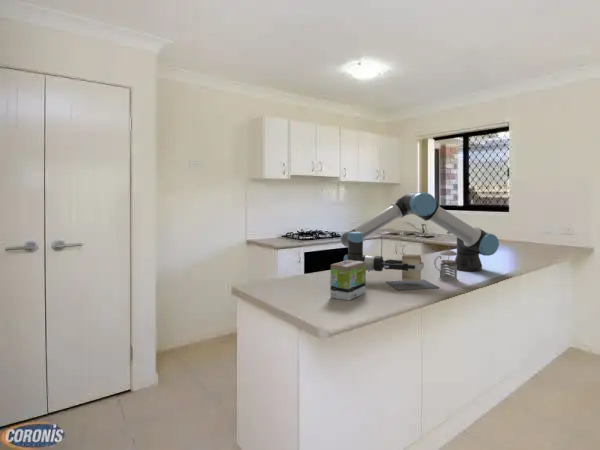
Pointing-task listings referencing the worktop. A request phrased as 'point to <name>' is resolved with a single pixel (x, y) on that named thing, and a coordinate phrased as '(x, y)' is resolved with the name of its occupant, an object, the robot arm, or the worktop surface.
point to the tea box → (348, 279)
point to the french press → (450, 265)
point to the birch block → (411, 274)
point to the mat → (411, 285)
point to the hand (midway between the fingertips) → (423, 266)
